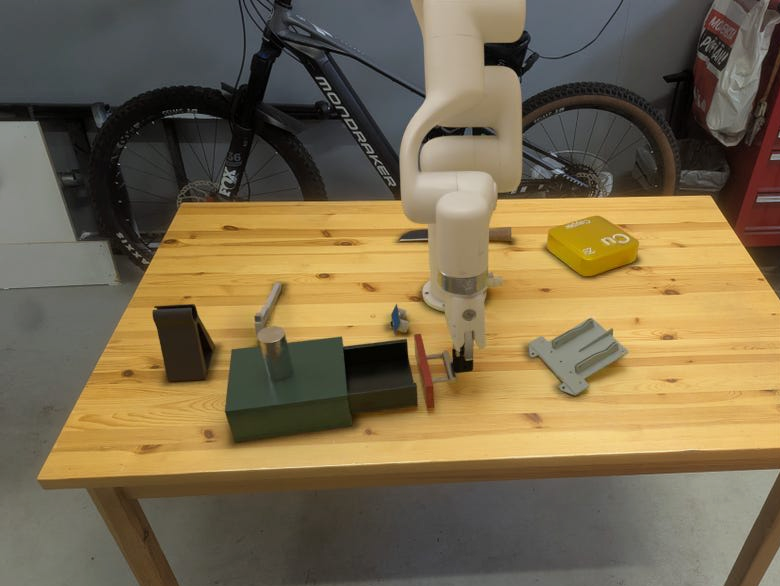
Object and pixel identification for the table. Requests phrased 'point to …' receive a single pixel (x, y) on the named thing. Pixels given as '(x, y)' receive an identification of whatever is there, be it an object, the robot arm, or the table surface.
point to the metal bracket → (578, 353)
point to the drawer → (390, 375)
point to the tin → (275, 353)
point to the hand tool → (494, 234)
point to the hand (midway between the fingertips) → (462, 369)
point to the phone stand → (183, 342)
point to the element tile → (592, 245)
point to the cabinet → (288, 392)
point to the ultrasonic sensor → (399, 320)
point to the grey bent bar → (267, 309)
